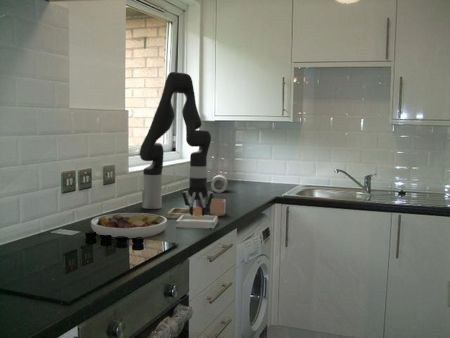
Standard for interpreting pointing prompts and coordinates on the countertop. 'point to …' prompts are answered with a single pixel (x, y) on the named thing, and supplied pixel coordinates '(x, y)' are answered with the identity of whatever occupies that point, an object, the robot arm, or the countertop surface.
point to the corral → (177, 212)
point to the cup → (217, 207)
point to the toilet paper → (219, 189)
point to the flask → (199, 203)
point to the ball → (197, 211)
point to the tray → (197, 221)
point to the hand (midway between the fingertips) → (197, 215)
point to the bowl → (129, 225)
